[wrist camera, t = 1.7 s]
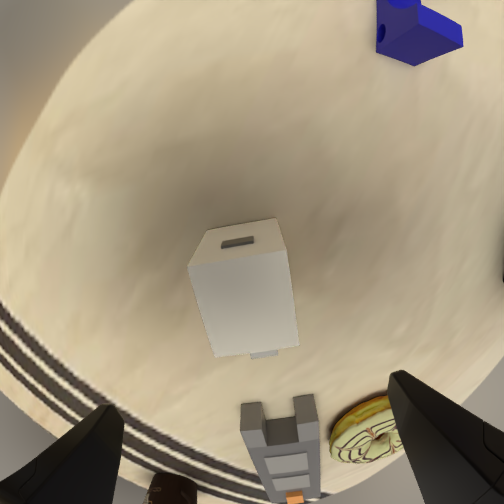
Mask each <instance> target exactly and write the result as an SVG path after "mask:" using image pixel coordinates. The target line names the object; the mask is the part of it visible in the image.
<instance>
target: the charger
mask: <svg viewBox="0 0 504 504" xmlns="http://www.w3.org/2000/svg"><path fill="white" fill-rule="evenodd" d="M187 269H188V273H189V276H190V280H191V283H192V287H193V290H194V294H195V297H196V300H197V304H198V307H199V310H200V313H201V317H202V320H203V323H204V326H205V329H206V333H207V336H208V339H209V342H210V345H211V348H212V351H213V354H214V357H225V356H233V355H242V354H249V353H250V356H251V359H256V358H263V357H270V356H276V355H278V350H277V349H283V348H290V347H295V346H300V345H299V337H298V329H297V321H296V313H295V305H294V298H293V291H292V284H291V276H290V270H289V263H288V256H287V250H286V246H285V243H284V240H283V237H282V234H281V231H280V228H279V225H278V222H277V219H276V218H272V219H266V220H261V221H255V222H249V223H244V224H238V225H232V226H227V227H221V228H216V229H211V230H207V231H206V233H205V235H204V236H203V238H202V240H201V242H200V244H199V245H198V247H197V249H196V251H195V253H194V254H193V256H192V258H191V260H190V262H189V264H188V265H187Z"/></svg>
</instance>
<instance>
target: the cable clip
mask: <svg viewBox="0 0 504 504" xmlns="http://www.w3.org/2000/svg"><path fill="white" fill-rule="evenodd" d="M462 47H463V36H462V27H461V25H459V24H457V23H456V22H454V21H452V20H450V19H449V18H447V17H445V16H443V15H441V14H439V13H437V12H435V11H433V10H431V9H429V8H427V7H425V6H423V5H421V0H377V42H376V53H379V54H382V55H385V56H388V57H391V58H394V59H397V60H400V61H402V62H405V63H407V64H410V65H412V66H416V65H418V64H421V63H423V62H426V61H428V60H430V59H433V58H435V57H438V56H440V55H443V54H446V53H448V52H451V51H453V50H456V49H459V48H462Z"/></svg>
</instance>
